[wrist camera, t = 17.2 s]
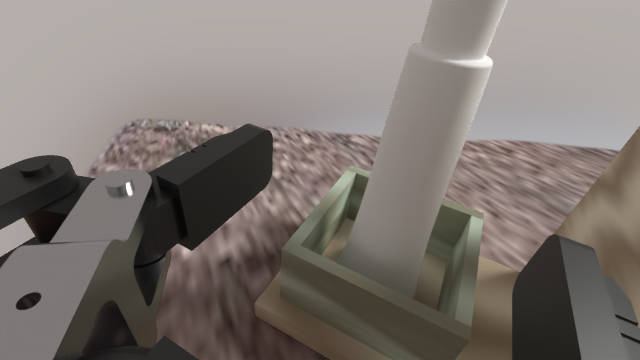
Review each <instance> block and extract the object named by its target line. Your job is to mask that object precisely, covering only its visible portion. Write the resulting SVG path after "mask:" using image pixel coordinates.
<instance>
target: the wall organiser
mask: <svg viewBox="0 0 640 360" xmlns="http://www.w3.org/2000/svg"><path fill="white" fill-rule="evenodd" d="M370 174H371V172H368V171H365V170H362V169H360V168H357V167H354V166H350V167H349V168H348V169H347V171H346V172H345V173H344V174H343V175H342V177H341V178H340V179H339V180H338V181H337V183H336V184H335V185H334V186H333V187H332V189H331V190H330V191H329V192H328V193H327V195H326V196H325V197H324V198H323V199H322V201H321V202H320V203H319V204H318V205H317V207H316V208H315V209H314V210H313V211H312V213H311V214H310V215H309V216H308V217H307V219H306V220H305V221H304V222H303V223H302V225H301V226H300V227H299V228H298V229H297V231H296V232H295V233H294V234H293V235H292V237H291V238H290V239H289V240H288V241H287V243H286V244H285V245H284V246H283V247H282V249H281V270H280V271H279V272H278V273H277V275H276V276H275V277H274V279H273V280H272V281H271V282H270V284H269V285H268V286H267V288H266V289H265V290H264V291H263V293H262V294H261V295H260V297H259V298H258V299H257V300H256V302H255V303H254V309H255V316H257V317H258V318H260V319H262V320H263V321H265V322H267V323H268V324H270V325H272V326H274V327H275V328H277V329H279V330H280V331H282V332H284V333H285V334H287V335H289V336H290V337H292V338H294V339H296V340H297V341H299V342H301V343H302V344H304V345H306V346H307V347H309V348H311V349H312V350H314V351H316V352H318V353H319V354H321V355H323V356H324V357H326V358H328V359H329V360H512V292H513V287H514V284H515V281H516V279H517V277H518V275H519V274H520V272H518V271H516V270H513V269H511V268H508V267H506V266H503V265H501V264H498V263H496V262H493V261H491V260H488V259H486V258H483V257H481V256H479V253H480V244H481V235H482V226H483V217H484V213H482V212H479V211H476V210H473V209H470V208H468V207H465V206H462V205H459V204H457V203H454V202H451V201H448V200H446V199H443V201H442V204H441V207H440V209H439V212H438V215H437V217H436V220H435V223H434V226H433V229H432V232H431V234H430V237H429V240H428V244H427V247H426V250H425V253H424V257H423V260H422V264H421V268H420V272H419V277H418V282H417V289H416V293H415V296H414V298H413V299H412V298H410V297H407V296H405V295H403V294H401V293H399V292H397V291H395V290H393V289H391V288H389V287H386V286H384V285H382V284H380V283H378V282H376V281H374V280H372V279H370V278H368V277H365V276H363V275H361V274H359V273H357V272H355V271H353V270H351V269H349V268H347V267H344V266H342V265H340V264H338V263H337V260H338V258H339V256H340V255H341V253H342V251H343V248H344V246H345V244H346V242H347V240H348V237H349V235H350V233H351V230H352V228H353V225H354V222H355V220H356V217H357V214H358V211H359V208H360V205H361V202H362V199H363V196H364V193H365V190H366V187H367V183H368V180H369V177H370ZM555 234H557V235H560V236H562V237H565V238H568V239H571V240H574V241H576V242H579V243H582V244H585V245H588V246H590V247H592V248H594V250H595V252H596V254H597V258H598V261H599V264H600V267H601V271H602V274H603V275H605V276H608V277H611V278H613V279H614V281H615V282H616V283H617V285H618V286H619V287H620V288H621V290H622V291H623V292H624V293H625V295H626V296H627V297H628V298H629V300H630V301H631V303H632V306H633V309H634V312H635V314H636V317H637V320H638V323H639V324H638V327H639V328H640V127H639V128H638V129H637V130H636V132H635V133H634V134H633V135H632V137H631V138H630V139H629V140H628V142H627V143H626V144H625V145H624V147H623V148H622V149H621V150H620V152H619V153H618V154H617V155H616V157H615V158H614V159H613V161H612V162H611V163H610V164H609V166H608V167H607V168H606V169H605V171H604V172H603V173H602V174H601V176H600V177H599V178H598V179H597V181H596V182H595V183H594V184H593V186H592V187H591V188H590V189H589V191H588V192H587V193H586V195H585V196H584V197H583V198H582V200H581V201H580V202H579V203H578V205H577V206H576V207H575V208H574V210H573V211H572V212H571V213H570V215H569V216H568V217H567V218H566V220H565V221H564V222H563V223H562V225H561V226H560V227H559V229H558V230H557V231H556V232H555Z"/></svg>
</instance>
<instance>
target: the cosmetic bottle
mask: <svg viewBox="0 0 640 360" xmlns="http://www.w3.org/2000/svg"><path fill="white" fill-rule="evenodd" d="M507 2H508V0H432V4H431V7H430V12H429V15H428V18H427V22H426V25H425V29H424V32H423V36H422V40H421V43H415V44H413V45H412V46H411V47H410V48H409V51H408V55H407V57H406V61H405V64H404V67H403V70H402V73H401V76H400V79H399V82H398V85H397V88H396V91H395V95H394V98H393V101H392V105H391V108H390V111H389V114H388V117H387V120H386V124H385V127H384V130H383V134H382V137H381V140H380V144H379V147H378V150H377V154H376V157H375V160H374V164H373V167H372V170H371V174H370V177H369V180H368V183H367V187H366V190H365V193H364V196H363V199H362V202H361V205H360V208H359V211H358V214H357V217H356V220H355V222H354V225H353V228H352V230H351V233H350V235H349V237H348V240H347V242H346V244H345V246H344V248H343V251H342V253H341V255H340V256H339V258H338V260H337V263H338V264H340V265H342V266H344V267H347V268H349V269H351V270H353V271H355V272H357V273H359V274H361V275H363V276H365V277H368V278H370V279H372V280H374V281H376V282H378V283H380V284H382V285H384V286H386V287H389V288H391V289H393V290H395V291H397V292H399V293H401V294H403V295H405V296H407V297H410V298H412V299H413V298H414V296H415V293H416V289H417V282H418V277H419V272H420V268H421V264H422V260H423V257H424V253H425V250H426V247H427V244H428V240H429V237H430V234H431V232H432V229H433V226H434V223H435V220H436V217H437V215H438V212H439V209H440V207H441V204H442V201H443V198H444V196H445V193H446V191H447V188H448V185H449V183H450V180H451V177H452V175H453V172H454V170H455V167H456V164H457V162H458V159H459V156H460V154H461V151H462V149H463V146H464V143H465V141H466V138H467V135H468V133H469V129H470V127H471V125H472V122H473V119H474V116H475V114H476V111H477V108H478V106H479V103H480V100H481V97H482V94H483V92H484V89H485V86H486V83H487V80H488V78H489V75H490V72H491V69H492V66H493V61H492V60H491V58H489V57H488V56H486V54H487V51H488V49H489V46H490V44H491V41H492V39H493V36H494V34H495V31H496V29H497V26H498V24H499V21H500V19H501V17H502V14H503V12H504V9H505V7H506V4H507Z"/></svg>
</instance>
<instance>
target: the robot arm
mask: <svg viewBox="0 0 640 360" xmlns="http://www.w3.org/2000/svg"><path fill="white" fill-rule="evenodd" d="M272 153H273V137H272V133H271V132H270V131H269V130H266V129H263V128H260V127H258V126H255V125H252V124H246V125H244V126H242V127H240V128H238V129H237V130H235V131H233V132H231V133H228V134H224V135H220V136H216V137H214V138H212V139H210V140H208V141H206V142H204V143H203V144H202V145H201V146H197V147H195V148H193V149H192V150H191V152H189V151H188V152H186V153H184V154H182V155H181V156H179V157H177V158H175V159H173V160H171V161H170V162H168V163H166V164H164V165H162V166H160V167H159V168H157V169H155V170H153V171H151V172H149V173H146V172H144V171H141V170H136V169H123V170H117V171H112V172H109V173H106V174H104V175H102V176H100V177H98V178H96V179H95V178H89V177H83V176H77V175H76V174H75V172H74V170H73V167H72V165H71V163H70V161H69V160H68V159H67V158H65V157H62V156H55V155H47V156H38V157H33V158H29V159H25V160H22V161H20V162H17V163H15V164H12V165H10V166H7V167H5V168H2V169H0V229H2V228H4V227H6V226H8V225H10V224H12V223H14V222H15V221H17V220H19V219H21V218H24V219H25V220H26V222H27V224H28V225H29V227H30V228H31V230H32V231H33V233H34V235H35V237H34V238H32V239H30V240H28V241H27V242H25V243H23V244H22V245H20V246H18V247H17V248H15V249H13V250H11V251H10V252H8V253H6V254H5V255H3V256H1V257H0V360H198V359H197V358H195V357H194V356H193V355H191V354H190V353H188V352H187V351H185V350H184V349H183V348H181V347H180V346H178V345H177V344H175V343H174V342H173V341H171V340H170V339H168V338H167V337H165V336H164V337H163V338H162V339H161V340H160V341H159V342H158V343H157V344H156V341H157V328H156V318H157V312H158V308H159V304H160V300H161V296H162V292H163V288H164V284H165V280H166V277H167V273H168V269H169V265H170V261H171V257H172V251H171V248H172V247H174V246H175V245H176V244H177V243H179V244H180V245H182V246H184V247H186V248H188V249H189V250H191V251H192V250H194V249H195V248H196V247H197V246H198V245H199V244H201V243H202V242H203V241H204V240H205V239H206V238H208V237H209V236H210V235H211V234H212V233H213V232H214V231H216V230H217V229H218V228H219V227H220V226H221V225H223V224H224V223H225V222H226V221H227V220H228V219H229V218H231V217H232V216H233V215H234V214H235V213H236V212H238V211H239V210H240V209H241V208H242V207H243V206H245V205H246V204H247V203H248V202H249V201H250V200H251V199H253V198H254V197H255V196H256V195H257V194H258V193H260V192H261V191H262V190H263V189H264V188H265V187H266V186H267V184H268V183H269V181H270V178H271V175H272ZM638 324H639V323H638V320H637V317H636V314H635V312H634V309H633V306H632V303H631V301H630V300H629V298H628V297H627V296H626V295H625V293H624V292H623V291H622V290H621V288H620V287H619V286H618V285H617V283H616V282H615V281H614V279H613V278H611V277H608V276H605V275H603V274H602V271H601V267H600V264H599V261H598V258H597V254H596V252H595V250H594V248H592V247H590V246H588V245H585V244H582V243H579V242H576V241H574V240H571V239H568V238H565V237H562V236H560V235H557V234H553V235H551V236H549V237H548V238H547V239H546V240H545V242H544V243H543V244H542V245H541V247H540V248H539V249H538V251H537V252H536V253H535V254H534V256H533V257H532V258H531V259H530V261H529V262H528V263H527V265H526V266H525V267H524V268H523V270H522V271H521V272H520V274H519V275H518V277H517V279H516V281H515V284H514V287H513V292H512V360H640V328H639V327H638Z"/></svg>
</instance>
